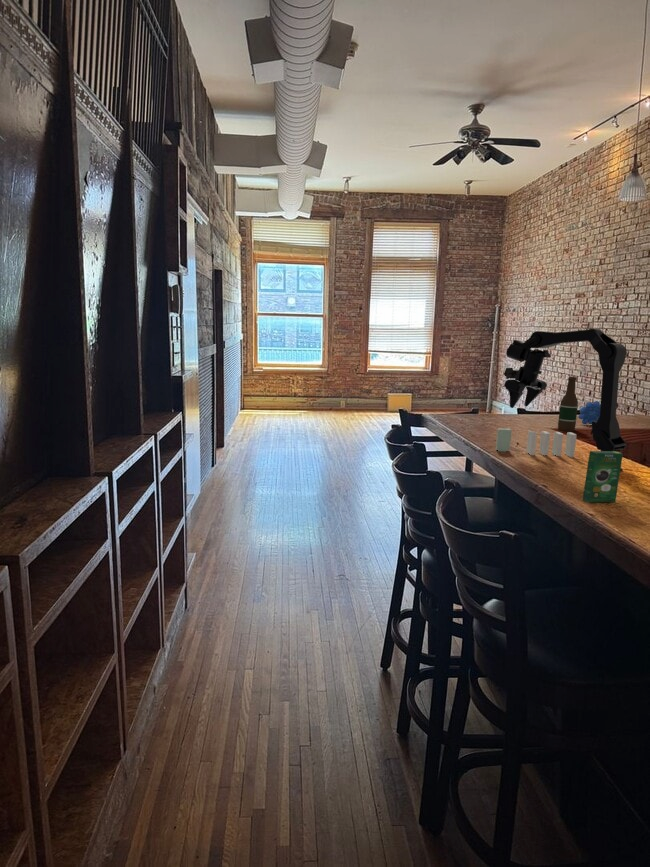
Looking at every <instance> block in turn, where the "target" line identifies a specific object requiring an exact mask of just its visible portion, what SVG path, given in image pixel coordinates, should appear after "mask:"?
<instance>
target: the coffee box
mask: <svg viewBox="0 0 650 867" xmlns="http://www.w3.org/2000/svg"><path fill="white" fill-rule="evenodd" d="M588 453H589V454H588V460H587V466H586V467H587V468H586V473H585V474H586V475H585V482H584V487H583V488H584V489H583V495H582V501H583V502H585V503H588V504H589V503H591V504H592V503H594V504H595V503H597V504H598V503H616V500H617V494H618V486H619V480H620V474H621V471H620V469H621V468H622V463H623V462H622V461H623V456H624V454H623V452H616V451H601V450H589V452H588Z"/></svg>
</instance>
